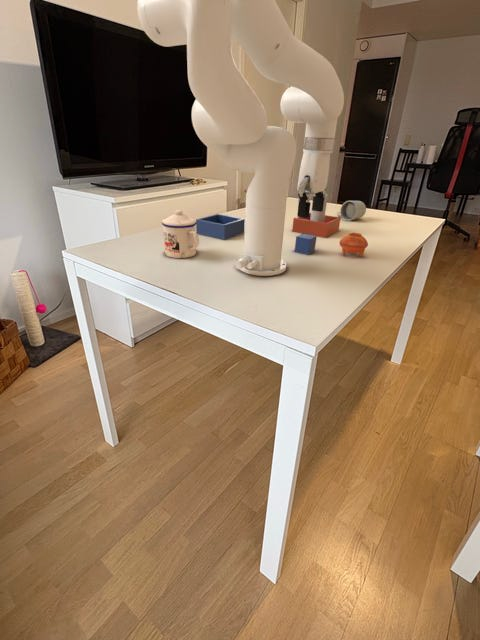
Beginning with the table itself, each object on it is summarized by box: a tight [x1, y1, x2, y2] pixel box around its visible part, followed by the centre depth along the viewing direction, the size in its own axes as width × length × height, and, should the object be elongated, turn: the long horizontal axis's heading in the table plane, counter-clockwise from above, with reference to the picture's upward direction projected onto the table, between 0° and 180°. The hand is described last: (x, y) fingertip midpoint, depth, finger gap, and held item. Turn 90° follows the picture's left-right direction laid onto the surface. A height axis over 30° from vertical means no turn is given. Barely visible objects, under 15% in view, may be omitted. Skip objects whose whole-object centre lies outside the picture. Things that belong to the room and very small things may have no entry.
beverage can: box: [310, 193, 328, 223], centre depth 120 cm, size 5×5×12 cm
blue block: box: [294, 233, 318, 255], centre depth 100 cm, size 4×4×4 cm
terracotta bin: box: [291, 212, 342, 239], centre depth 122 cm, size 13×13×5 cm
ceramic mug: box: [337, 200, 367, 222], centre depth 141 cm, size 11×8×8 cm
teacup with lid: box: [161, 209, 200, 259], centre depth 92 cm, size 12×9×12 cm
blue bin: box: [195, 213, 245, 241], centre depth 115 cm, size 12×12×5 cm
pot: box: [339, 232, 369, 258], centre depth 99 cm, size 8×8×7 cm
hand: (310, 213), depth 96 cm, fingers open, 9 cm apart
